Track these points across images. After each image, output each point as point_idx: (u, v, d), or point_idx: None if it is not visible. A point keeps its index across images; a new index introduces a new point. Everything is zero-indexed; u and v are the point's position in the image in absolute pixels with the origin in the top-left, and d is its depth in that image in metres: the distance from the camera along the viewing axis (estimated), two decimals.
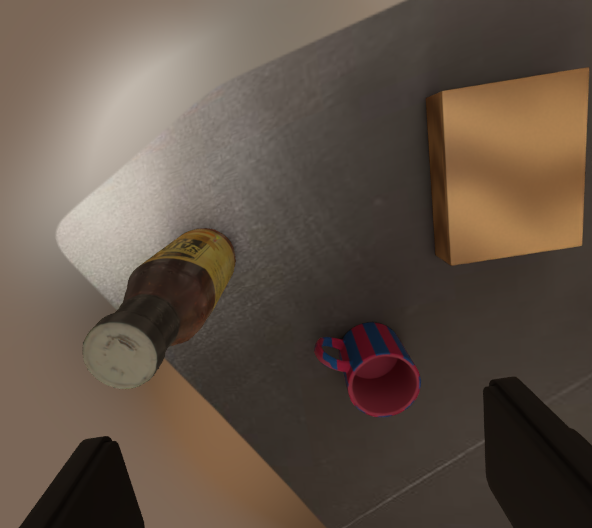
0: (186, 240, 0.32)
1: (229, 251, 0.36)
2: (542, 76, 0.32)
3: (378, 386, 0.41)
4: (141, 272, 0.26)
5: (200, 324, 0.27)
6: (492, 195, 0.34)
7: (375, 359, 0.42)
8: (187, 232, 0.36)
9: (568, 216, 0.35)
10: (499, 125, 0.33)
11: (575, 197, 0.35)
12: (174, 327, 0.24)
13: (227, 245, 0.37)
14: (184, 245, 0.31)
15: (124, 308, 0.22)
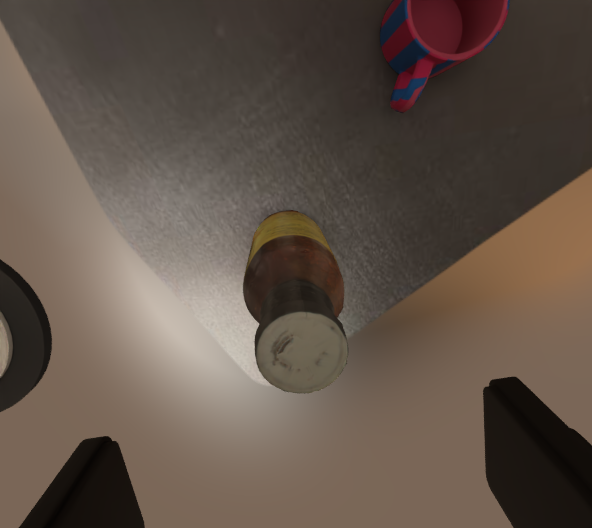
0: None
1: (273, 216, 0.32)
2: None
3: (471, 16, 0.29)
4: (252, 314, 0.23)
5: (316, 254, 0.22)
6: None
7: (433, 24, 0.31)
8: None
9: None
10: None
11: None
12: (298, 285, 0.20)
13: (268, 218, 0.32)
14: None
15: None
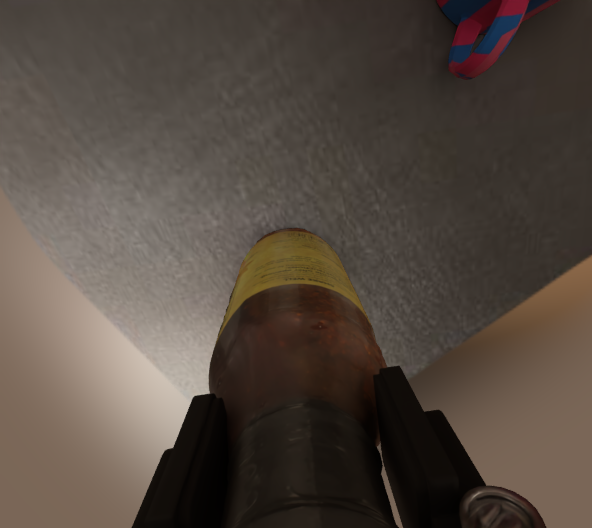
0: None
1: (269, 239, 0.21)
2: None
3: None
4: None
5: (341, 332, 0.12)
6: None
7: None
8: None
9: None
10: None
11: None
12: (306, 422, 0.09)
13: (261, 242, 0.22)
14: None
15: None
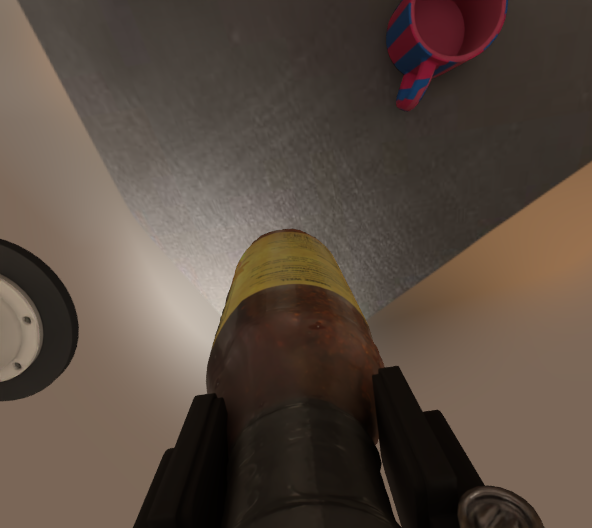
0: None
1: (265, 240, 0.21)
2: None
3: (472, 18, 0.31)
4: None
5: (339, 331, 0.12)
6: None
7: (437, 27, 0.32)
8: None
9: None
10: None
11: None
12: (306, 421, 0.09)
13: (257, 242, 0.22)
14: None
15: None
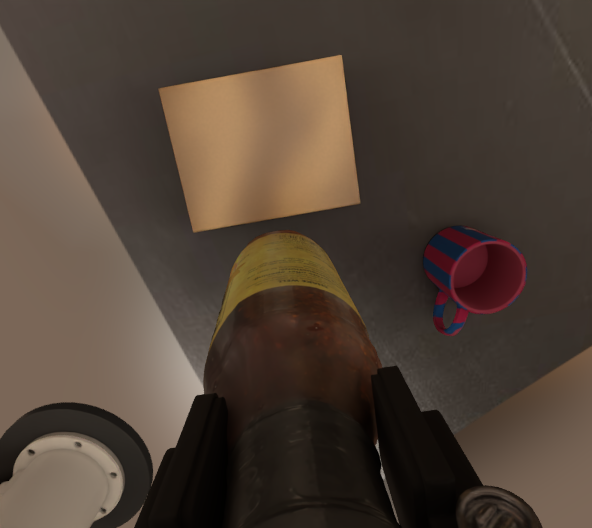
0: None
1: (261, 241, 0.21)
2: (171, 136, 0.33)
3: (496, 257, 0.38)
4: None
5: (337, 333, 0.12)
6: (287, 170, 0.34)
7: (465, 254, 0.39)
8: None
9: (308, 79, 0.32)
10: (219, 173, 0.34)
11: (287, 74, 0.32)
12: (306, 423, 0.09)
13: (252, 244, 0.22)
14: None
15: None
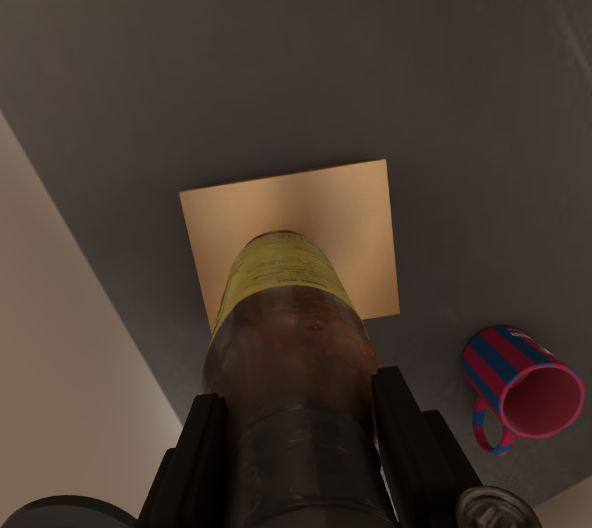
0: None
1: (259, 241, 0.21)
2: (192, 243, 0.29)
3: None
4: None
5: (337, 332, 0.12)
6: None
7: None
8: None
9: (347, 184, 0.28)
10: None
11: (324, 179, 0.28)
12: (306, 423, 0.09)
13: (251, 244, 0.22)
14: None
15: None
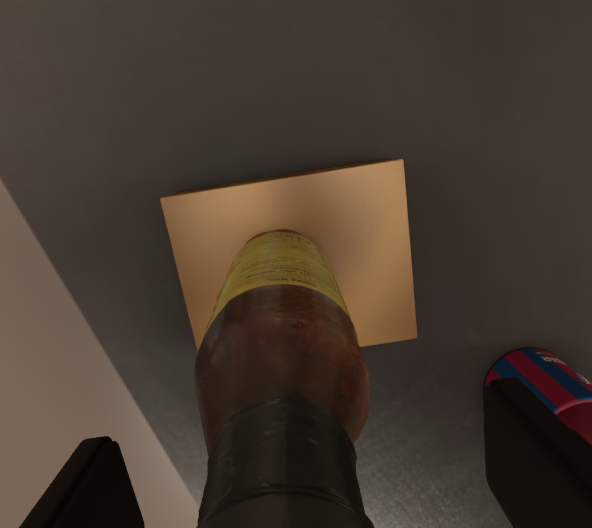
0: None
1: (257, 240, 0.22)
2: (176, 257, 0.25)
3: None
4: None
5: (320, 330, 0.12)
6: None
7: None
8: None
9: (357, 189, 0.24)
10: None
11: (331, 183, 0.24)
12: (282, 416, 0.09)
13: (250, 243, 0.22)
14: None
15: None
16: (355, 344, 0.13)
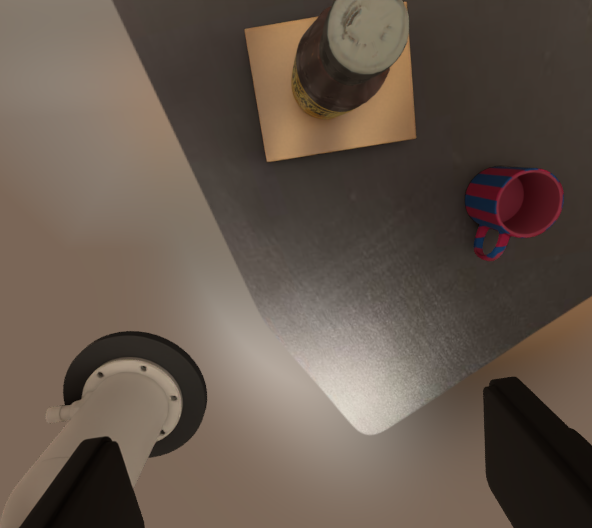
0: None
1: None
2: (253, 73, 0.37)
3: (532, 193, 0.42)
4: (306, 77, 0.25)
5: None
6: None
7: (503, 192, 0.44)
8: (293, 94, 0.35)
9: None
10: (293, 107, 0.38)
11: None
12: None
13: None
14: None
15: (325, 49, 0.21)
16: None
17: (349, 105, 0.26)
